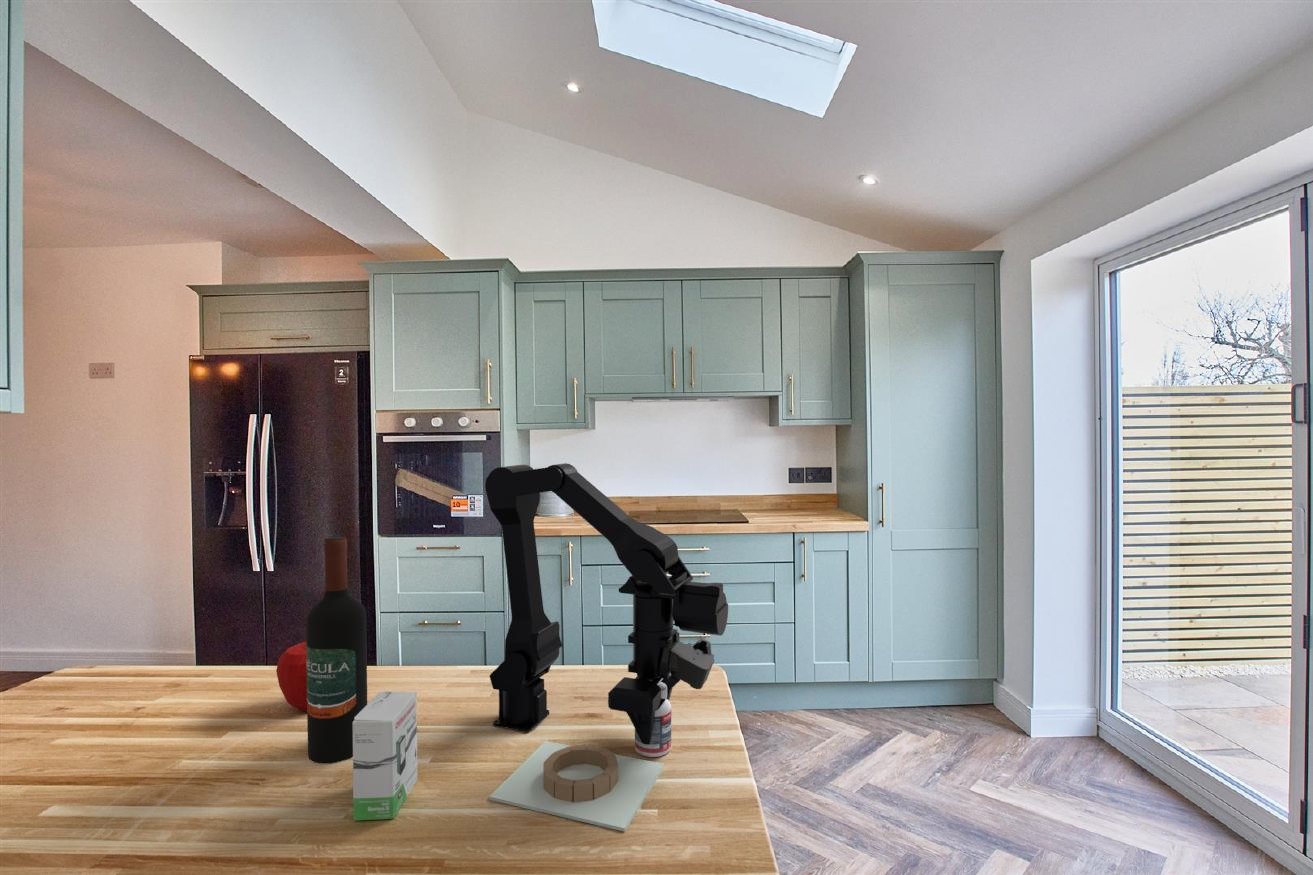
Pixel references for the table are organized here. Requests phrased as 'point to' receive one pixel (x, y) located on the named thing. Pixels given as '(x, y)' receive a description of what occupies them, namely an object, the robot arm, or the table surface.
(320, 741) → the wine bottle
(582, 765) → the collar board
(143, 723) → the table surface
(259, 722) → the table surface
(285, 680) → the apple
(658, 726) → the pill bottle
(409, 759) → the ink box
